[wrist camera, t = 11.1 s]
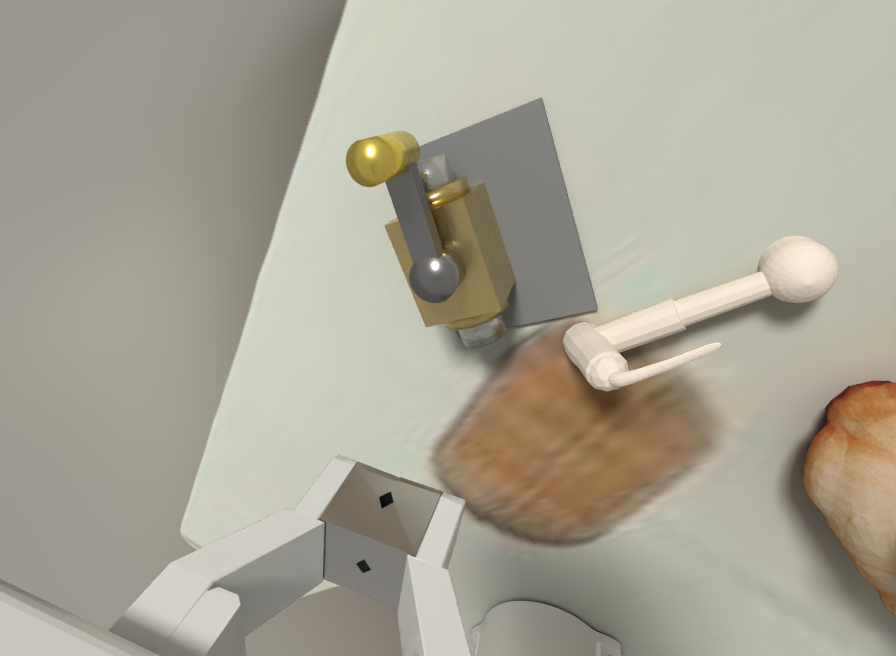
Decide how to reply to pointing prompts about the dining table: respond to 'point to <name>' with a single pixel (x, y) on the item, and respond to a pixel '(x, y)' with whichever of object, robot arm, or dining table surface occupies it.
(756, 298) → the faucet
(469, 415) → the dining table surface
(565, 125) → the dining table surface
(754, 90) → the dining table surface
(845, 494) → the ceramic vessel
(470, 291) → the valve body
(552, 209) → the valve base plate
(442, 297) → the valve lever
